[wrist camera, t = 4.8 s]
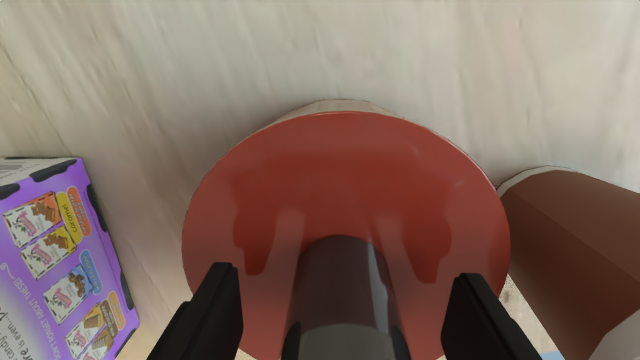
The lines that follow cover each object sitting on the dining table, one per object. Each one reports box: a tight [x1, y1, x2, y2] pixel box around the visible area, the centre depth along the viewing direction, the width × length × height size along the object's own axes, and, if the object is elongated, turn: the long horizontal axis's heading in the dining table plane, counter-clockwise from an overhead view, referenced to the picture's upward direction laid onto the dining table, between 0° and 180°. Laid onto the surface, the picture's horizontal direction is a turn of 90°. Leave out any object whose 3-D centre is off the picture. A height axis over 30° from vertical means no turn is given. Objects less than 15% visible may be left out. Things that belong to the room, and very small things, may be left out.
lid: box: [182, 109, 511, 360], centre depth 9 cm, size 12×12×7 cm
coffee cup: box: [496, 166, 640, 360], centre depth 12 cm, size 9×9×12 cm
